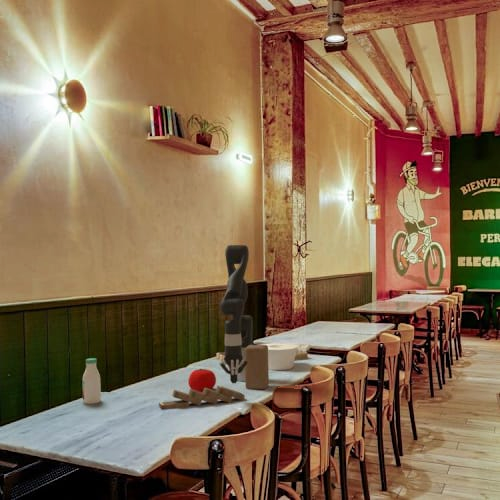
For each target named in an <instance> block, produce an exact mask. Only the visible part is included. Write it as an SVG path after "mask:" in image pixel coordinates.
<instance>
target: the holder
mask: <svg viewBox="0 0 500 500" xmlns="http://www.w3.org/2000/svg"><path fill="white" fill-rule="evenodd" d="M294 344H295V345H297V346H298V348H297V349H298V350H301V351H304V352H308V351H310V349H311V343H294Z"/></svg>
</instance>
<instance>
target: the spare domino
mask: <svg viewBox="0 0 500 500" xmlns="http://www.w3.org/2000/svg"><path fill="white" fill-rule="evenodd" d="M215 391H217V392H218V393H220V394H224V395H227V396H230V397H232V399H233V398H234V399H236V400H239V401H244V399H245V397H246V395H245V394H244V393H242V392H240V391H236V390H234V389H230V388H227V387H224V386H220V385H218V384H217V386H216V388H215Z"/></svg>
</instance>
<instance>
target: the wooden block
mask: <svg viewBox="0 0 500 500" xmlns="http://www.w3.org/2000/svg"><path fill="white" fill-rule="evenodd" d="M245 361H247V364H246V366H245V381H244V382H245V389H247V390H266V388H267V387H268V386H269V383H270V381H269V379H270V378H269V373H270V372H269V370H268V346H267V345H261V344H253V345H249V346H247V347H246V348H245Z"/></svg>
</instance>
